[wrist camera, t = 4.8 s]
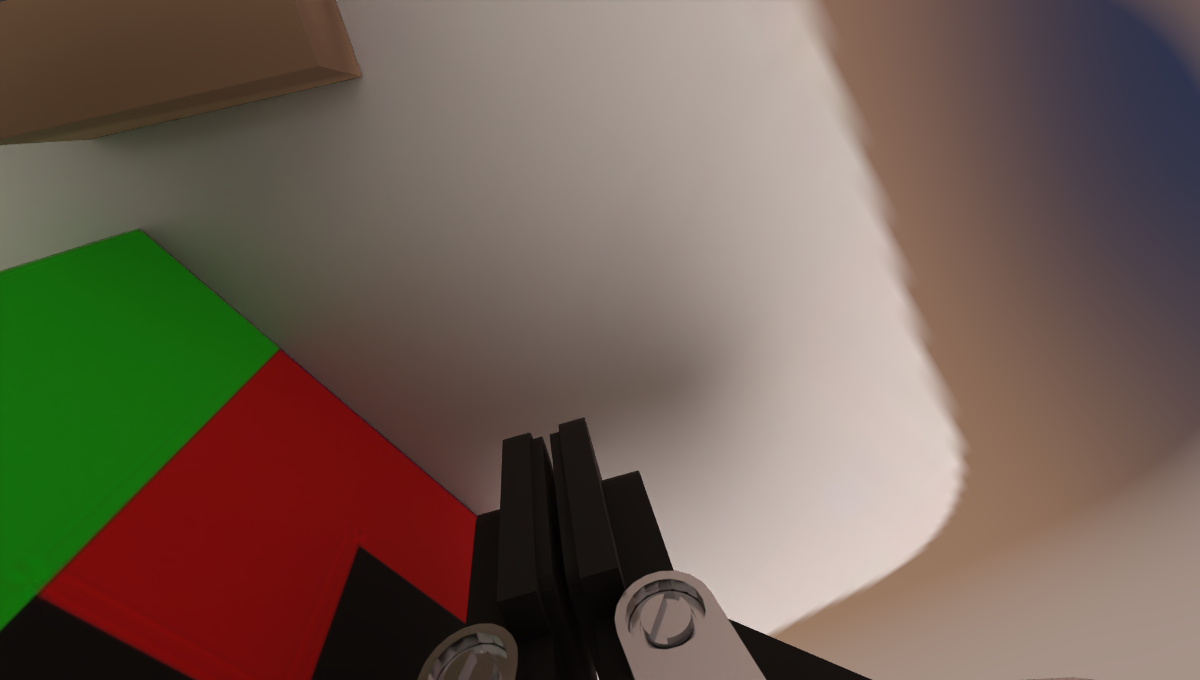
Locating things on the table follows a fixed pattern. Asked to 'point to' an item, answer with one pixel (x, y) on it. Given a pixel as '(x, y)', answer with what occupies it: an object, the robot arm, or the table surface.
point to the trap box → (157, 61)
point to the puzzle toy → (199, 493)
